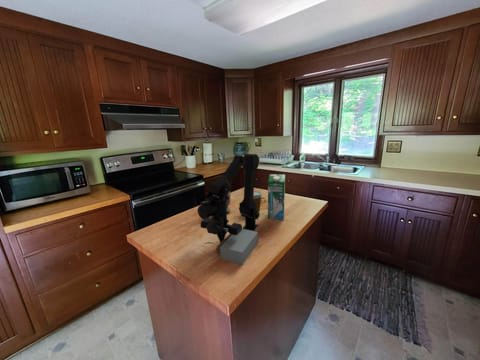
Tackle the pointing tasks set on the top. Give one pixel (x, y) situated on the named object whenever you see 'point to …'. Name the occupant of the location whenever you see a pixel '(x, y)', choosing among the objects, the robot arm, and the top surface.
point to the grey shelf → (239, 246)
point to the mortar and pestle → (228, 202)
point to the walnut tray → (222, 244)
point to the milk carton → (276, 196)
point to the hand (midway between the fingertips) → (221, 242)
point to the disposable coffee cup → (257, 199)
